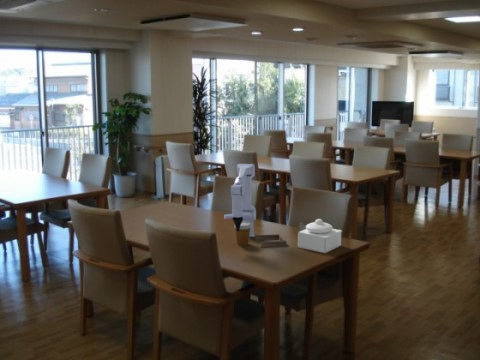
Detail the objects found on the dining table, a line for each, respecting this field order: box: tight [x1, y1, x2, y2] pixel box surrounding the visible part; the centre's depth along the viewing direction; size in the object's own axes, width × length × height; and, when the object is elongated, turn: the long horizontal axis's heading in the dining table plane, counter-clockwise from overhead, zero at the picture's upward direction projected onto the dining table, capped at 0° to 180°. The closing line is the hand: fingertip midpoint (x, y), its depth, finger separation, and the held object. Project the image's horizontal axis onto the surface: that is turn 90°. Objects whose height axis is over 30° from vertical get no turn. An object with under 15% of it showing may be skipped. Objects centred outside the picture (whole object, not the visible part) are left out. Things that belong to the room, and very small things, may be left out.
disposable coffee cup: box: [233, 222, 251, 247], centre depth 310 cm, size 10×10×12 cm
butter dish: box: [297, 218, 343, 254], centre depth 304 cm, size 18×18×16 cm
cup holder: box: [255, 233, 287, 248], centre depth 314 cm, size 15×14×2 cm
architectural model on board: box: [298, 222, 309, 232], centre depth 324 cm, size 11×3×10 cm, turn 40°
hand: (237, 230), depth 300 cm, fingers closed
